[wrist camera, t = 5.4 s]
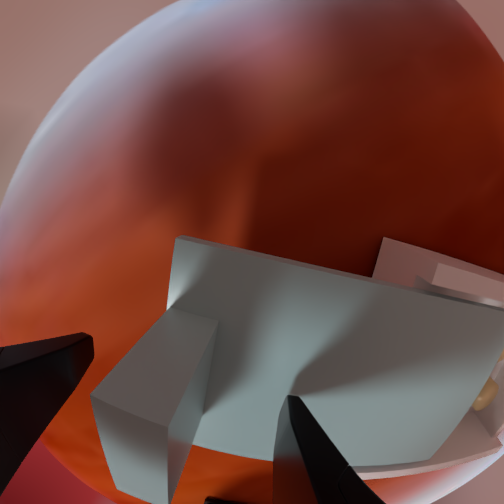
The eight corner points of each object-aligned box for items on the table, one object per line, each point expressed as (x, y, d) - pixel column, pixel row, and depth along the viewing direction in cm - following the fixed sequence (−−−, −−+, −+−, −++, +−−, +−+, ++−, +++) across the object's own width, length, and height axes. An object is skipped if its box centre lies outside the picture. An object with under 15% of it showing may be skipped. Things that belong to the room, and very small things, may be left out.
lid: (426, 452, 10) (452, 518, 5) (164, 425, 10) (123, 509, 5) (510, 309, 8) (582, 360, 3) (182, 235, 8) (74, 285, 4)
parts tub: (471, 413, 14) (496, 452, 9) (316, 414, 14) (323, 480, 9) (533, 286, 11) (578, 309, 6) (383, 236, 12) (438, 262, 7)
